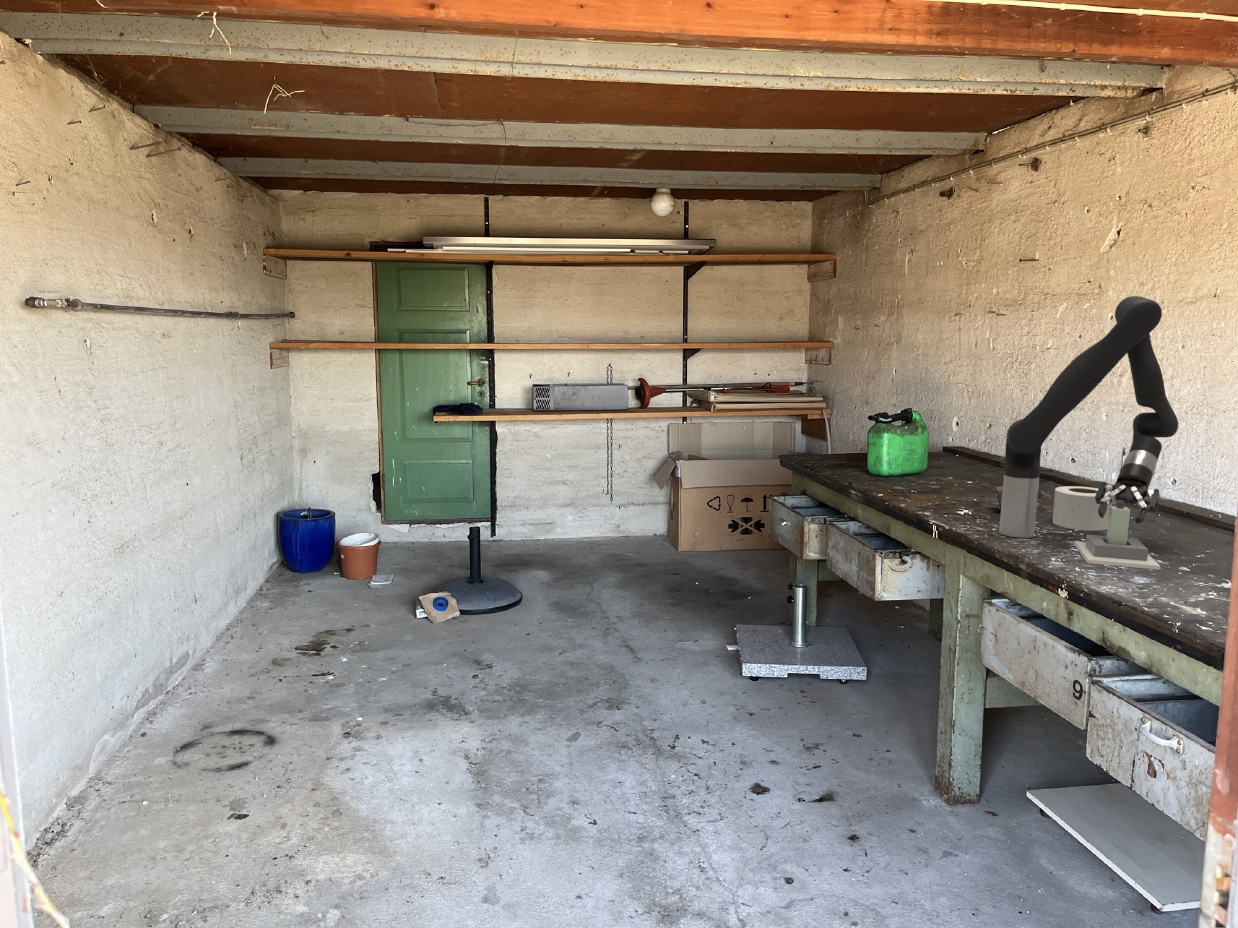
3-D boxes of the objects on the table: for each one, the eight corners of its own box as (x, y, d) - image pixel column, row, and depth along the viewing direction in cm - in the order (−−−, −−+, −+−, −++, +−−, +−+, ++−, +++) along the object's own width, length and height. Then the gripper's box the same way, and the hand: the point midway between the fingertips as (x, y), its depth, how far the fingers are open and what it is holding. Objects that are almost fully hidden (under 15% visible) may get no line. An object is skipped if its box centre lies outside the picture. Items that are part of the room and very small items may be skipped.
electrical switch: (1016, 515, 274) (1015, 487, 273) (998, 516, 276) (998, 487, 274) (1012, 510, 283) (1012, 482, 282) (995, 510, 284) (995, 482, 283)
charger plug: (1105, 550, 229) (1110, 498, 226) (1122, 551, 227) (1127, 499, 225) (1107, 553, 225) (1113, 501, 223) (1125, 555, 224) (1131, 502, 221)
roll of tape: (1076, 532, 253) (1080, 496, 252) (1040, 520, 268) (1044, 486, 266) (1121, 530, 256) (1125, 494, 255) (1084, 518, 271) (1087, 484, 270)
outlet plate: (1074, 544, 238) (1075, 530, 237) (1140, 550, 233) (1141, 535, 232) (1087, 563, 219) (1089, 548, 219) (1159, 569, 214) (1161, 554, 214)
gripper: (1106, 458, 234) (1087, 505, 228) (1166, 465, 224) (1147, 515, 218) (1110, 475, 238) (1091, 522, 232) (1169, 483, 228) (1151, 532, 222)
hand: (1119, 518), depth 225 cm, fingers open, 8 cm apart
